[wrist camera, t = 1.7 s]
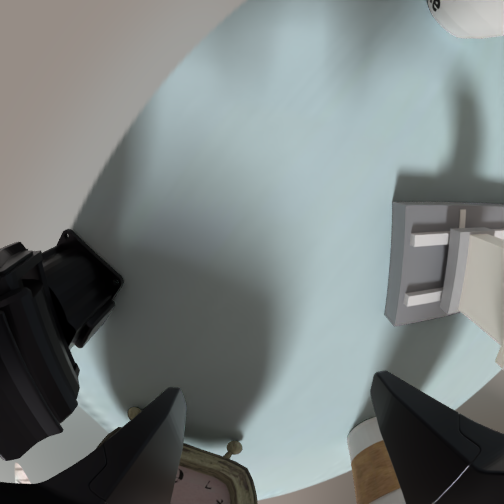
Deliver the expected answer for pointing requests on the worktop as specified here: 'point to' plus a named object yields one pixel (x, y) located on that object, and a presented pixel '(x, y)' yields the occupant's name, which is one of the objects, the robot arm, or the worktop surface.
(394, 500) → the coffee cup
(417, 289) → the fader console
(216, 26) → the worktop surface
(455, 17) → the cup
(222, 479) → the tabletop clock
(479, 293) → the plate
